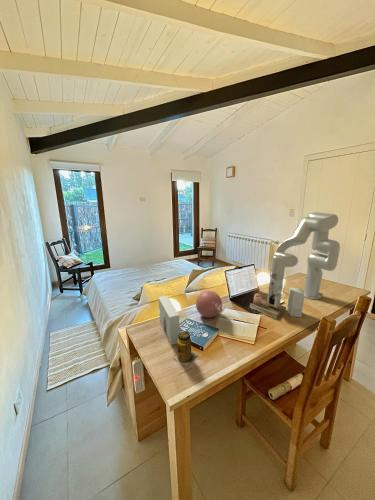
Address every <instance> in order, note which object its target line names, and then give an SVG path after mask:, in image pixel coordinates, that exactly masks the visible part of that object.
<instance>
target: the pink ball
mask: <svg viewBox="0 0 375 500" xmlns="http://www.w3.org/2000/svg"><path fill="white" fill-rule="evenodd" d="M195 308H196V310H197V312H198V313H199V314H200V315H201V316H202V317H205V318H207V319H208V318H209V319H210V318H214V317H216V316H217V315H219V314H220V313H221V312H223V301H222V299H221V297H220V295H219V294H218V293H216V292H215V291H213V290H204V291H202V292H200V293H199V295H198V296H196V299H195Z"/></svg>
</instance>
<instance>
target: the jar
mask: <svg viewBox="0 0 375 500" xmlns="http://www.w3.org/2000/svg"><path fill="white" fill-rule="evenodd" d="M262 298H263V297H262V294H261V293H258V292H257V293H254V296H253V302H252V303H253V304H254V305H256V306H260V305H261V299H262Z"/></svg>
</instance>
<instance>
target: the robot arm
mask: <svg viewBox="0 0 375 500" xmlns="http://www.w3.org/2000/svg"><path fill="white" fill-rule="evenodd" d="M338 223H339V217H338V215H337V214H336V213H335V214H334V213H328V212H327V213H326V212H310V213H309V214H308V215H307V216H306V217H303V218H301V220H300V221H299V223H298V225H297V227H296V229H295V231H294V232H293V233H292V235H291V237H289V238H287V239H285V240H284V241H283V242H281V243H279V245H277V247H276V250H275V251H274V252H273V256H272V258H271V266H270V272H269V277H270V279H269V280H270V281H269V285H268V290H267V291H268V292H269V303H270V304H272V305H274V302H275V299H274V298H275V295H278V294H279V293H280V294H281V292H283V285H284V275H285V269H286V268H294V267H295V266H296V265H298V263H299V260H298V257H297V256H296V255H294V254H291V253H288V252H286V251H287V250H288V249H290V248H292V247H296V246H301V245H303V244H304V245H305V244H306V243H307V241H308V239H309V237H310V236H311V234H312V232H313V236H312V243H311V249H312V250H313V251H314V252H311V253H310V254H308V255H307V258H306V262H307V265H306V266H307V268H306V275H305V281H304V285H303V290H302V291H303V292H304V298H307V299H310V300H319V299H322V298H321V297H322V296H321V294H320V290H321V285H322V284H321V283H322V279H323V270H325V271H328V272H329V271H330V272H332V271H335V269H336V268H337V266H338V263H339V262H338V261H339V256H340V251H341V245H340V242H338V241H337V240H334V239H329V234H330V233H329V232H330V231H329V230H332V229H333V228H336V226H337V225H338ZM268 292H267V293H268ZM272 295H273V296H272Z"/></svg>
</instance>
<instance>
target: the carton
mask: <svg viewBox="0 0 375 500" xmlns="http://www.w3.org/2000/svg"><path fill="white" fill-rule="evenodd" d="M272 296H273V295H272ZM281 297H282V293H281V292H280V293H279V294H278V295H275V298H274V299H275V302H274V305H272V304H270V303H269V292H267V297H266V300H267V305H270V306H273V307H275V308H277V307H278V306H279V305H281V299H282V298H281Z"/></svg>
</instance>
